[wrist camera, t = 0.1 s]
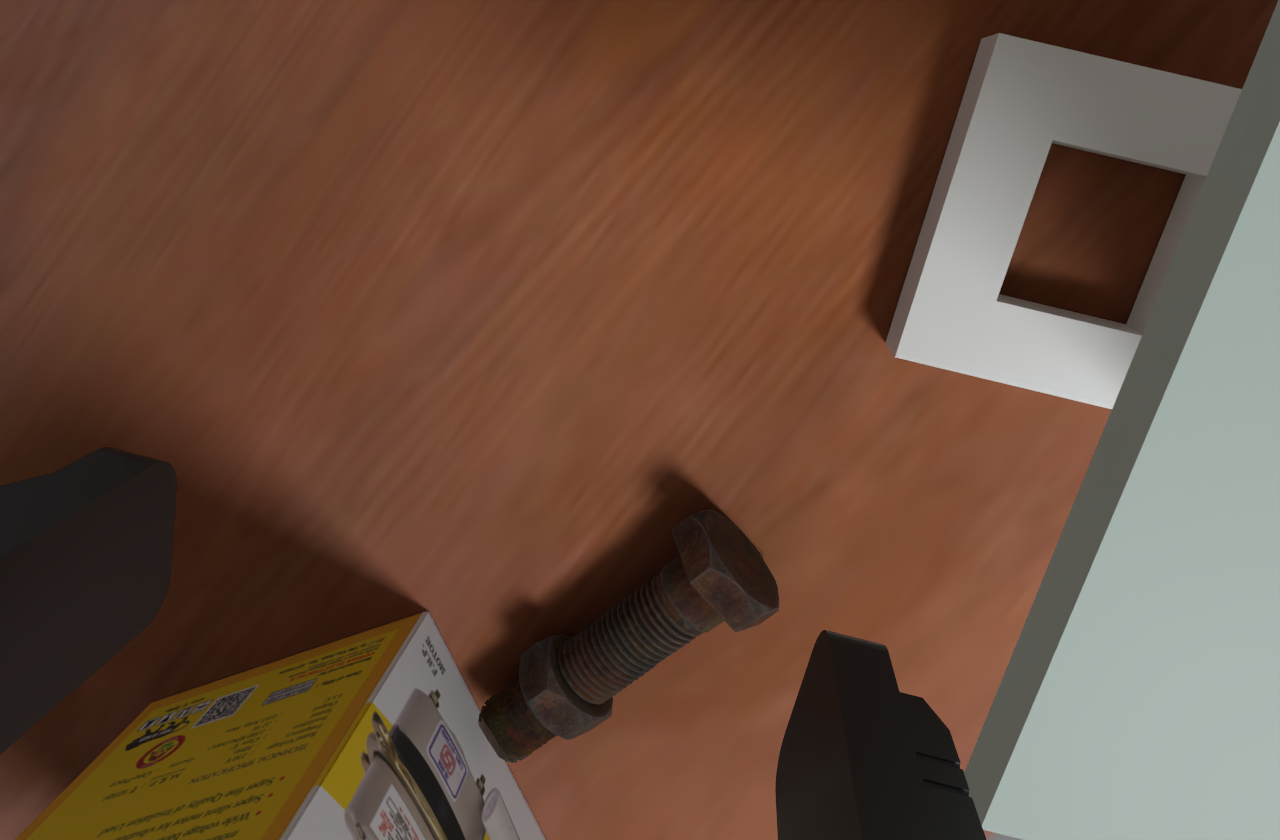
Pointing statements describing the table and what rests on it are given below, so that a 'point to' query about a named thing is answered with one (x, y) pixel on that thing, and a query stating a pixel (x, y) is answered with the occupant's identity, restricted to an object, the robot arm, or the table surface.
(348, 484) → the table surface
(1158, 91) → the socket plate
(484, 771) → the packaging box
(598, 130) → the table surface
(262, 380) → the table surface
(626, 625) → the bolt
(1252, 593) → the c-shaped stand frame
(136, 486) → the robot arm
